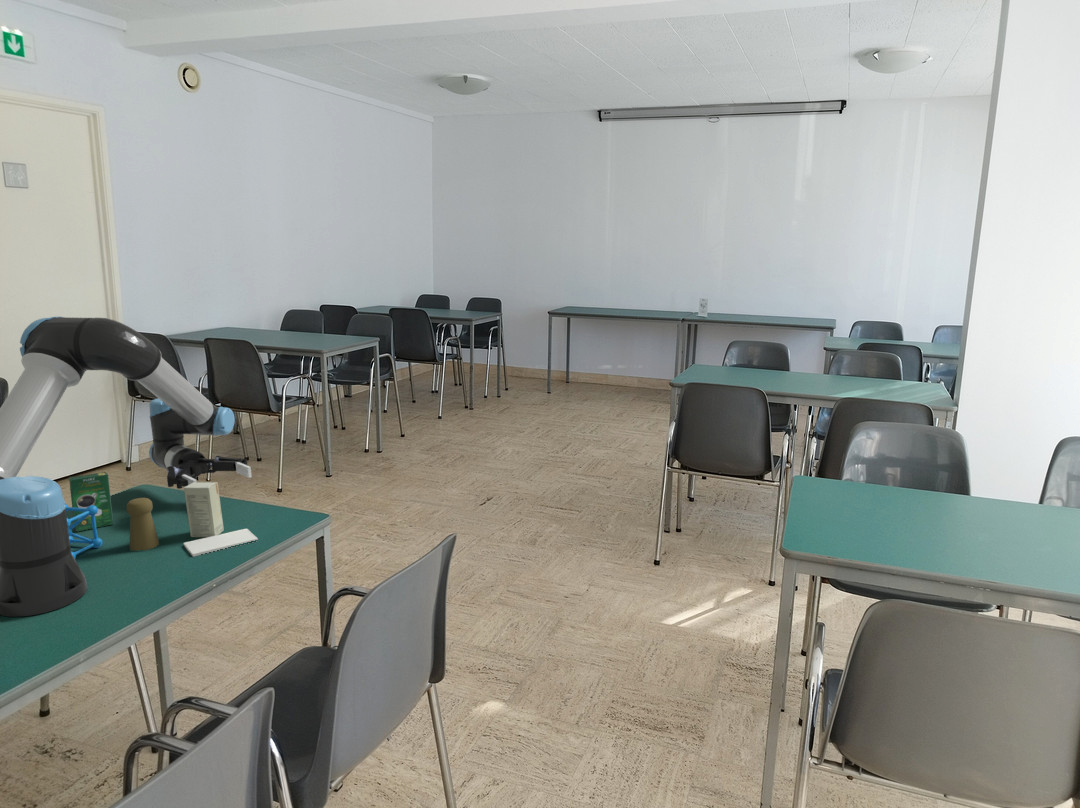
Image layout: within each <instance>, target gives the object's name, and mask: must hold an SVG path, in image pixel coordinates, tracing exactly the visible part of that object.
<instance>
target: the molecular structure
mask: <svg viewBox="0 0 1080 808" xmlns="http://www.w3.org/2000/svg"><path fill="white" fill-rule="evenodd" d="M65 509H66V513H67V512H68V511H69V512H70V511H71V512H73V511H82V512H84V513H82V514H79V515H77V516H75V517H70V518H68V517H67V524H68V532H69V540H70V546H71V545H72V544H73V543H74V544H88V545H86V546H84V547H82V548H80V549H78V550H76V551H72V550H71V553H72V555H73V557H74V559H75V560H76V557H77V555H79V554H82V553H83V552H85V551H87V550H89V549H91V548H94V549H99V548H101V547H102V545H103V544H104V543H103V539H102V538H100V537H99V536H98V529H97V528H96V522H95V515H96V514H97V513H98V508H97V507H96V506H94V505H91V506H89V507H87V509H86V508H73V507H72V506H71V507H69V505H68V504H67V503H65ZM88 516H91V521H92V528H93V529H92V534H93V538H89V537H87V536H84V535H82V534H78V533H76V532H75V533H74V532H73V529H75V526H77V525H78V524H79V523H80V522H81V521H83V520H84V519H85V518H86V517H88ZM79 518H80V519H79ZM76 519H79V520H77V521H76V522H75V523H74V520H76ZM72 522H73V524H72ZM74 538H76V539H74Z"/></svg>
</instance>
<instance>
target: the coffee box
mask: <svg viewBox="0 0 1080 808" xmlns="http://www.w3.org/2000/svg"><path fill="white" fill-rule="evenodd" d="M109 480H110V479H109V474H108V473H107V472H106V471H102V472H97V473H90V474H84V475H83V474H82V475H77V476H69V478H68V481H69V490H70V498H71V507H73V508H86V509H87V507H89V506H91V505H94V506H96V507H97V508H98V513H97V514H96V515H95V522H96V529H97V528H104V526H105V527H108V526H112V525H114V517H113V510H112V509H113V507H112V498H111V497H112V496H111V490H110V489H111V487H110V481H109ZM82 513H84V512H82V511H72V516H73V517H75V516H77V515H79V514H82ZM73 517H72V518H73ZM79 519H80V518H79ZM79 519H76V520H74V521H73V524H74V523H75V522H76V521H77V520H79ZM74 529H76V530H75V532H76V531H77V533H78V532H83V531H84V530H85V531H88V529H89V530H93V528H92V521H91V516H88V517H86V518H85V519H84V520H83V521H81V522H80V523H79V524H78V525H77V526H75V527H74ZM85 531H84V532H85Z"/></svg>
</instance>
